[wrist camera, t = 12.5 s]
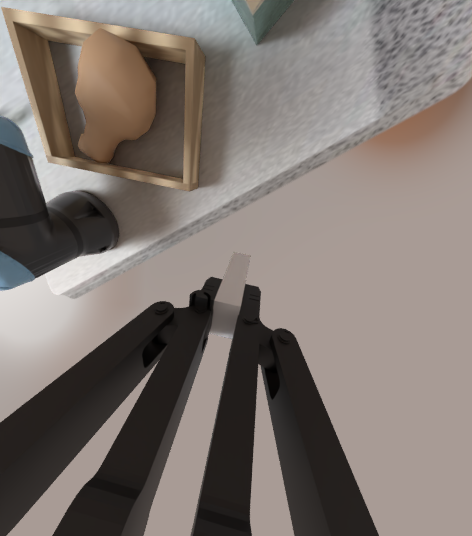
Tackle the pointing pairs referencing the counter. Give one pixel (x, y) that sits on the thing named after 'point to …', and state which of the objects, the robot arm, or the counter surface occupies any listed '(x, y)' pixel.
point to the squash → (113, 94)
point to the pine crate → (49, 98)
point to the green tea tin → (260, 15)
